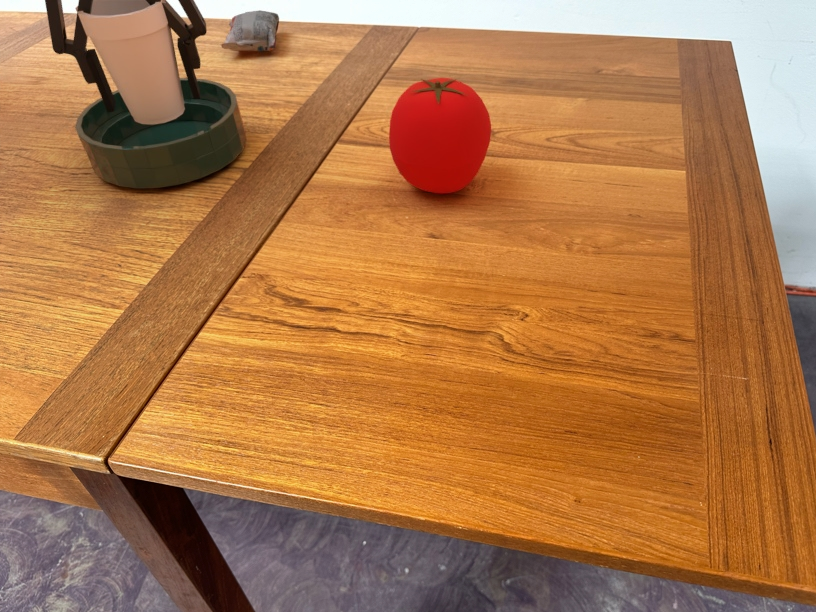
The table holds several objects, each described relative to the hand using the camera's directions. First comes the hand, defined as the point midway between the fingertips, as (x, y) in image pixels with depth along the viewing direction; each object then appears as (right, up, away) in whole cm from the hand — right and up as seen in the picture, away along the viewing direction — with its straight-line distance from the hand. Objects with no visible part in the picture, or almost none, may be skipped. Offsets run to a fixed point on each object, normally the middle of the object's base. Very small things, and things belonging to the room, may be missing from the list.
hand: (154, 100), depth 82 cm
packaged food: (+3, +20, +31) cm, 37 cm away
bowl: (0, -5, +5) cm, 7 cm away
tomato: (+36, -11, -1) cm, 37 cm away
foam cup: (0, -1, +1) cm, 2 cm away
